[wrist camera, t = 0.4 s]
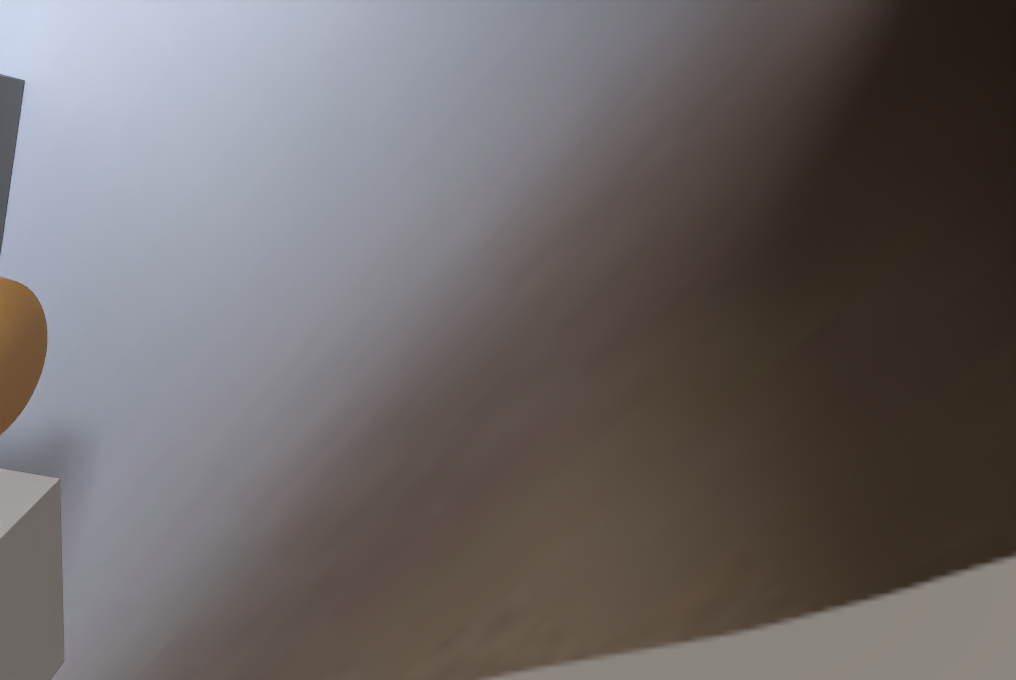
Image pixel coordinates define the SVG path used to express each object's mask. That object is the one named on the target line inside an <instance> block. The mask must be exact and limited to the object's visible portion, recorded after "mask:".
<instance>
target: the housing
mask: <svg viewBox="0 0 1016 680" xmlns="http://www.w3.org/2000/svg"><path fill="white" fill-rule="evenodd" d="M23 88H24V80H21V79H17V78H13V77H9V76H5V75H1V74H0V251H1V244H2V237H3V230H4V223H5V216H6V208H7V201H8V194H9V187H10V180H11V173H12V166H13V159H14V152H15V145H16V138H17V131H18V123H19V116H20V109H21V102H22V95H23Z"/></svg>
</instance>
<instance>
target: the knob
mask: <svg viewBox="0 0 1016 680" xmlns="http://www.w3.org/2000/svg"><path fill="white" fill-rule="evenodd" d="M46 350H47V324H46V319H45V314H44V312H43V309H42V306H41V304H40V302H39V300H38V299H37V297H36V296H35V295H34V293H33V292H32V291H31V290H30V289H28V288H27V287H26V286H24V285H23V284H21V283H18V282H16V281H13V280H10V279H6V278H3V277H0V435H1V434H2V433H3V432H4V431H5V430H6V429H7V428H8V427H9V426H10V425H11V424H12V423H13V422H14V421H15V420H16V418H17V417H18V416H19V415H20V413H21V412H22V410H23V409H24V408H25V406H26V405H27V403H28V401H29V399H30V398H31V396H32V394H33V392H34V390H35V388H36V386H37V383H38V381H39V378H40V375H41V372H42V369H43V365H44V361H45V356H46Z"/></svg>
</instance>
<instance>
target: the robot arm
mask: <svg viewBox="0 0 1016 680" xmlns="http://www.w3.org/2000/svg"><path fill="white" fill-rule="evenodd" d="M63 662H64V625H63V584H62V542H61V501H60V479H59V478H53V477H48V476H42V475H36V474H31V473H25V472H19V471H13V470H8V469H2V468H0V680H51V679H52V677H53V676H54V674H55V673H56V672H57V670H58V669H59V668H60V666H61V665H62V663H63Z"/></svg>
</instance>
